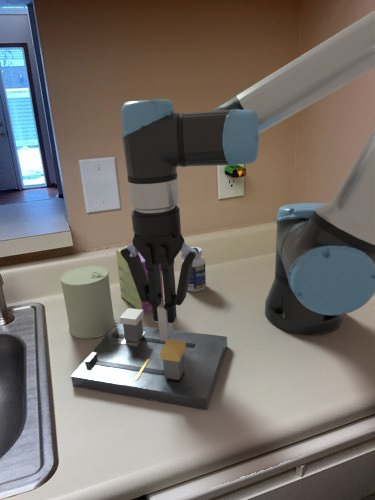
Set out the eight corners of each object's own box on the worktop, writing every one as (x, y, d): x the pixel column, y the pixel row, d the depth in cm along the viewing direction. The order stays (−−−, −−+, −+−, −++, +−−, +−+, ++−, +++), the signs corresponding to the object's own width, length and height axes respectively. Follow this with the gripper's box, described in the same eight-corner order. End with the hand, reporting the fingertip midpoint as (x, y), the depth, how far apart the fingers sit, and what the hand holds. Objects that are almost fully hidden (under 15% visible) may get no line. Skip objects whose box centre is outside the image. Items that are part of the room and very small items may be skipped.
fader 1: (145, 332, 71) (143, 309, 69) (138, 343, 68) (135, 319, 66) (130, 330, 72) (127, 308, 70) (122, 340, 69) (119, 317, 67)
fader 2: (187, 367, 61) (185, 341, 59) (180, 381, 58) (179, 355, 56) (169, 365, 62) (167, 339, 60) (162, 378, 59) (159, 352, 57)
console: (227, 346, 70) (227, 331, 69) (206, 409, 55) (206, 393, 54) (117, 331, 76) (115, 318, 75) (72, 386, 61) (70, 370, 60)
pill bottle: (198, 294, 89) (197, 255, 86) (179, 289, 92) (177, 251, 88) (210, 285, 93) (209, 247, 90) (191, 280, 96) (189, 244, 93)
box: (165, 305, 85) (161, 256, 81) (142, 314, 82) (137, 263, 78) (142, 289, 93) (137, 243, 89) (120, 296, 90) (115, 249, 86)
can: (104, 340, 73) (96, 283, 69) (60, 337, 75) (49, 281, 71) (121, 315, 82) (115, 263, 77) (81, 313, 83) (73, 262, 79)
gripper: (201, 201, 61) (207, 329, 69) (126, 200, 65) (140, 321, 73) (188, 214, 54) (196, 353, 63) (105, 212, 58) (124, 344, 66)
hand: (166, 336), depth 68 cm, fingers closed
